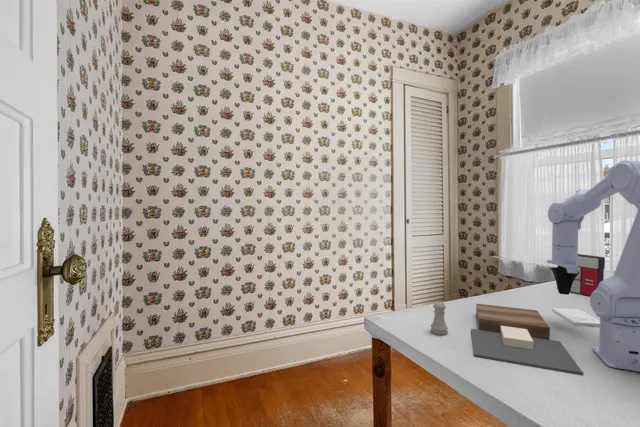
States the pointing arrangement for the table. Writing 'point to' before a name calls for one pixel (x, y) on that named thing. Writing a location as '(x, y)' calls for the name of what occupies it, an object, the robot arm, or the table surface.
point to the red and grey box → (588, 274)
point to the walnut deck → (511, 320)
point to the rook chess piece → (439, 320)
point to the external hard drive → (577, 317)
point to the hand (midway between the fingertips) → (563, 293)
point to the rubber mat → (524, 352)
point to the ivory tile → (516, 337)
